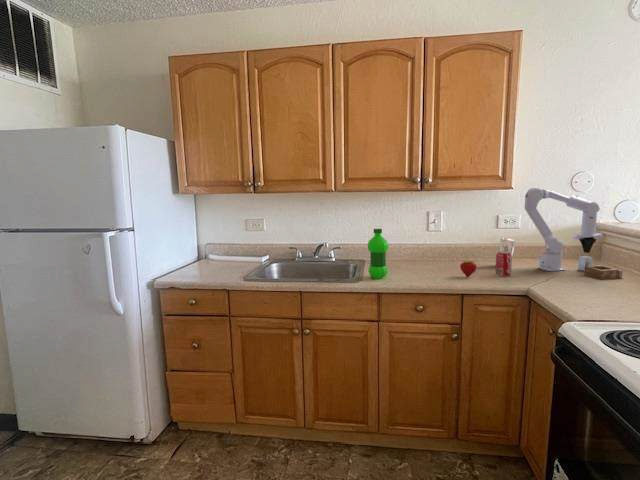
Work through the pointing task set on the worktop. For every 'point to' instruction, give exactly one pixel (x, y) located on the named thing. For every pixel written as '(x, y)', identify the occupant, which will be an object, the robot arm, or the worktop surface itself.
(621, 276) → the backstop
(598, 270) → the square wooden frame
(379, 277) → the plastic bottle
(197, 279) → the worktop surface
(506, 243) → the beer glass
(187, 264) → the worktop surface
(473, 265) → the strawberry
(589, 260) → the grey rectangular block
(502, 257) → the soda can
